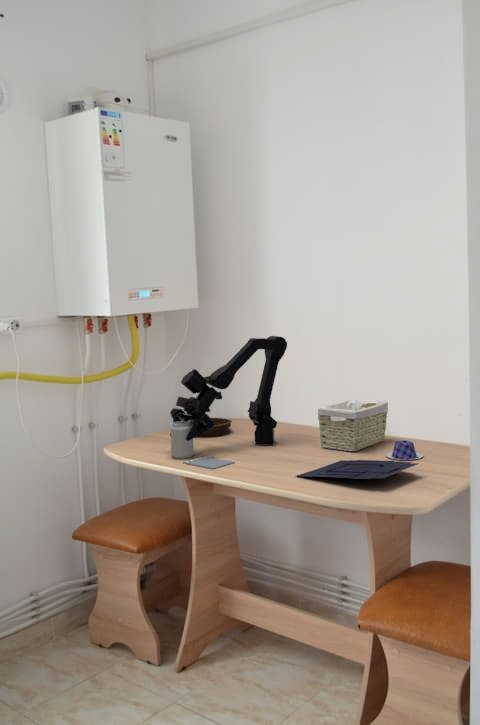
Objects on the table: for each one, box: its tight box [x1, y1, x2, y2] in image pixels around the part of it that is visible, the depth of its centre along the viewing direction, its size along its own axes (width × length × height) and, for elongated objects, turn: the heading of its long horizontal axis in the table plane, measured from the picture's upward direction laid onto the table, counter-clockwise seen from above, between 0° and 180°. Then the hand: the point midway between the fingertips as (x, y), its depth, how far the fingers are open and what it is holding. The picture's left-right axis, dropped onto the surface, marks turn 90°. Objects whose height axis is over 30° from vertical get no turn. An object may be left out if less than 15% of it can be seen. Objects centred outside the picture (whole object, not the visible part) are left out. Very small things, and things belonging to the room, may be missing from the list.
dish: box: [188, 417, 233, 438], centre depth 298 cm, size 18×22×5 cm
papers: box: [296, 459, 420, 480], centre depth 229 cm, size 24×30×4 cm
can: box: [170, 421, 195, 460], centre depth 260 cm, size 8×8×12 cm
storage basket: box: [317, 398, 389, 452], centre depth 270 cm, size 24×16×15 cm
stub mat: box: [182, 455, 236, 470], centre depth 251 cm, size 14×10×1 cm
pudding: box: [385, 440, 424, 461], centre depth 251 cm, size 12×12×5 cm
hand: (178, 438), depth 259 cm, fingers open, 9 cm apart
